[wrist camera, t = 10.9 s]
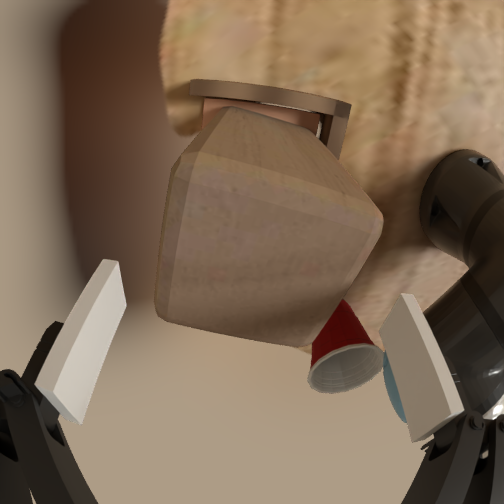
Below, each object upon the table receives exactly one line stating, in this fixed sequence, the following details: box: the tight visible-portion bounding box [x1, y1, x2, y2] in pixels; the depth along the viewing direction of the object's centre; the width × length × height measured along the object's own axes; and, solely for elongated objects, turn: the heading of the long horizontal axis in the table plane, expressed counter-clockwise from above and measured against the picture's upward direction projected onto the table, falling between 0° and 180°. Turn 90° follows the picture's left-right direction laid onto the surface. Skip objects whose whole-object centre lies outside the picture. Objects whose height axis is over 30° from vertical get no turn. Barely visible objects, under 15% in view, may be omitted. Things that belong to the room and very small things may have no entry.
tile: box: [201, 98, 320, 136], centre depth 30 cm, size 12×12×1 cm
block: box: [154, 106, 383, 347], centre depth 22 cm, size 10×10×20 cm
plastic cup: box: [308, 300, 384, 394], centre depth 39 cm, size 11×11×12 cm
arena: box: [189, 79, 351, 160], centre depth 29 cm, size 15×15×4 cm
